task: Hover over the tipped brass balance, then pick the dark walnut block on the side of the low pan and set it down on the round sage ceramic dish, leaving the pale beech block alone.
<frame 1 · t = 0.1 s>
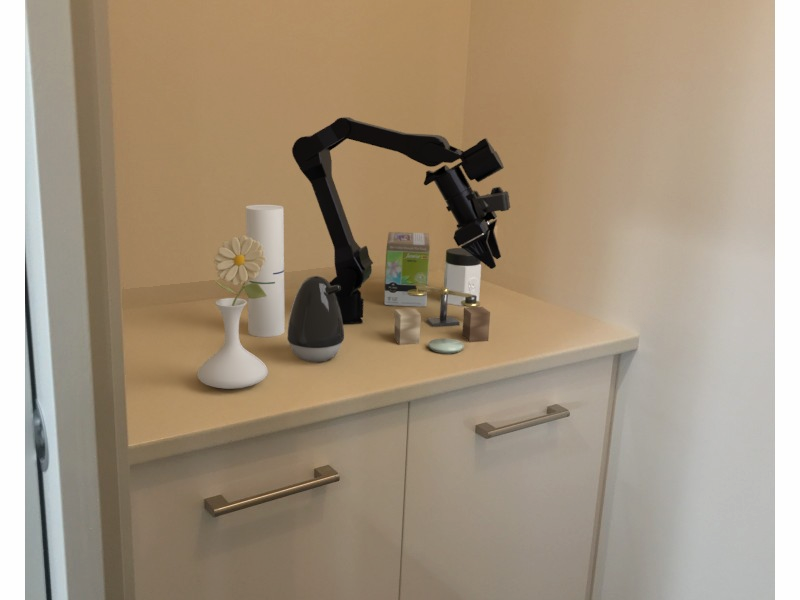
hand: (496, 262, 154), 15 cm above the worktop, tool tilted 30°, fingers open, 9 cm apart
flower in vase: (236, 384, 128), on the worktop
block beech: (406, 341, 152), on the worktop
tea box: (405, 299, 183), on the worktop
jar: (460, 302, 182), on the worktop
balance: (443, 323, 164), on the worktop
pump dispenser: (316, 358, 141), on the worktop
block walnut: (475, 338, 155), on the worktop
cylindrical container: (266, 332, 155), on the worktop
dish: (445, 348, 148), on the worktop
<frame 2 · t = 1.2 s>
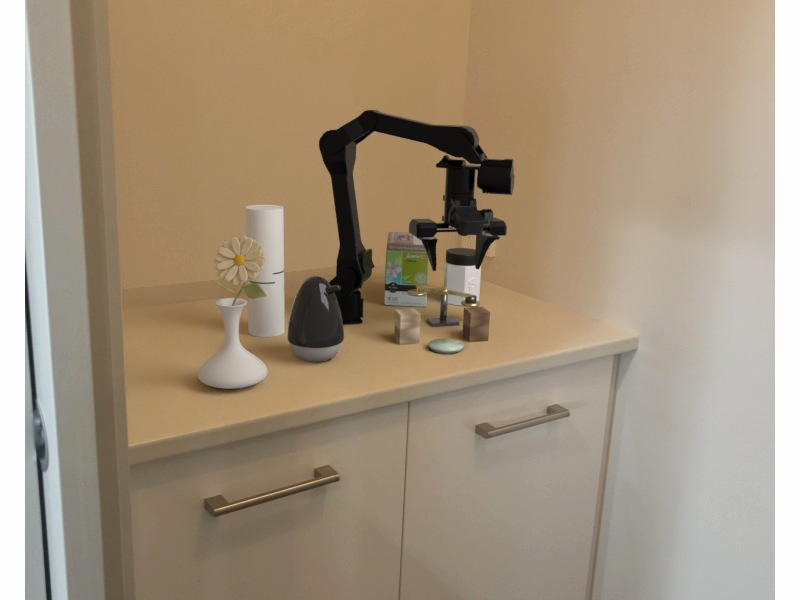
hand: (455, 269, 155), 13 cm above the worktop, tool pointing down, fingers open, 9 cm apart
nothing on the worktop moved.
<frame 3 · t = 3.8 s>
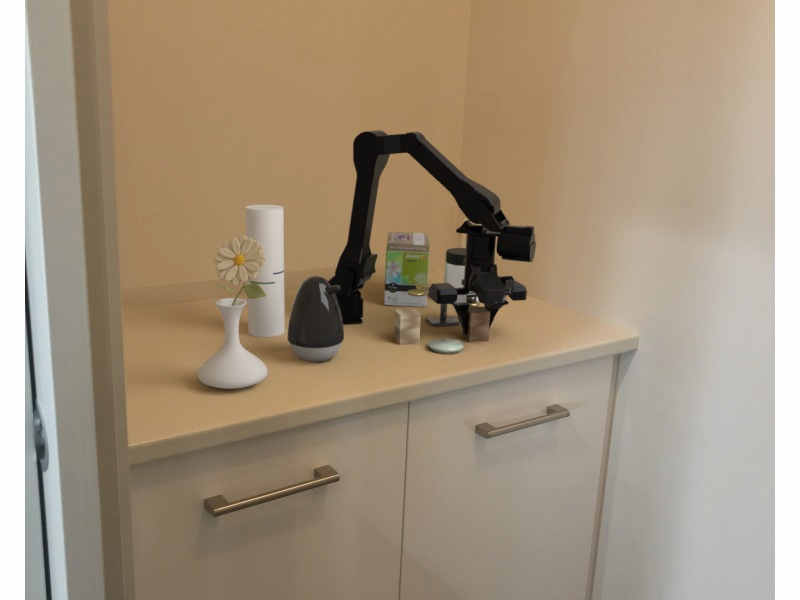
hand: (475, 333, 155), 1 cm above the worktop, tool pointing down, fingers closed on block walnut, 4 cm apart
block walnut: (475, 338, 155), on the worktop, touching gripper
everything else where it was.
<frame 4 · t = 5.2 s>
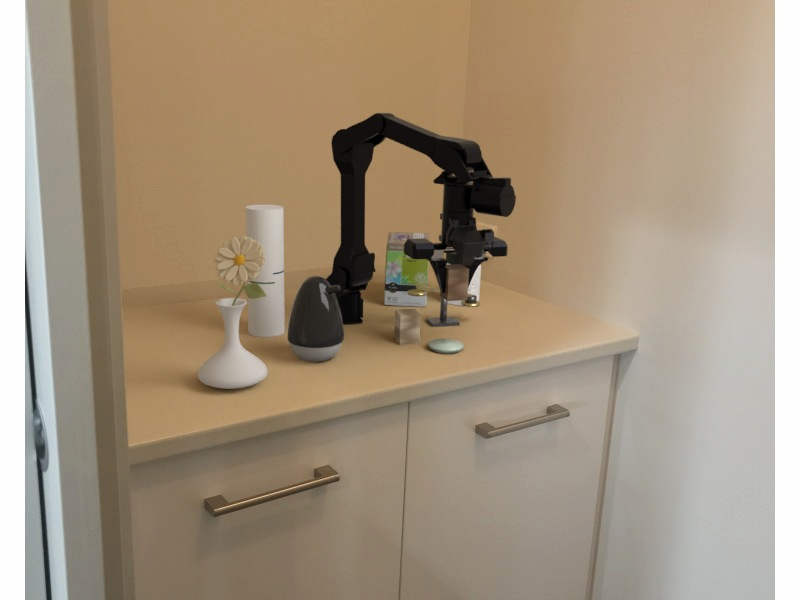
hand: (453, 292, 146), 11 cm above the worktop, tool pointing down, fingers closed on block walnut, 4 cm apart
block walnut: (453, 297, 147), point 10 cm above the worktop, touching gripper
everything else where it was.
when the fingers open (3 cm above the worktop, at t = 7.0 s): block walnut drops 1 cm, resting on dish.
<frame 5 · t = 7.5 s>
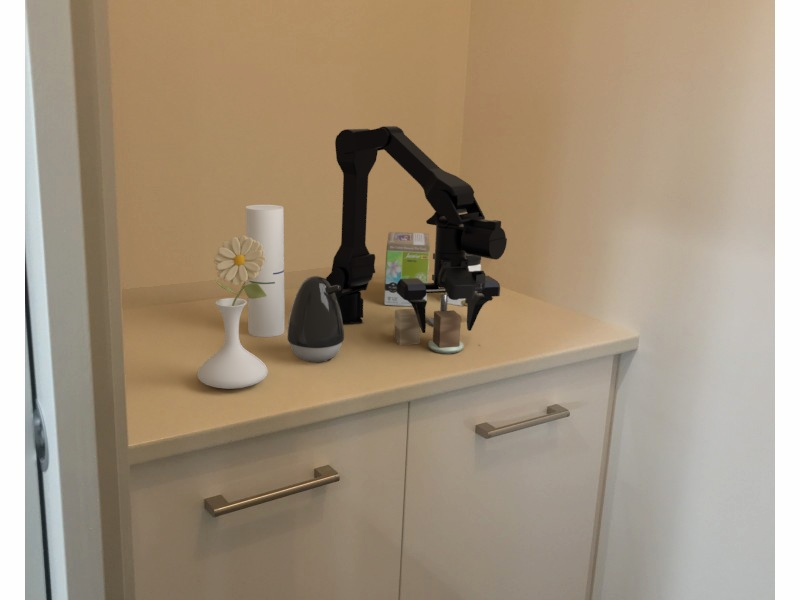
hand: (446, 331, 147), 3 cm above the worktop, tool pointing down, fingers open, 9 cm apart
block walnut: (445, 343, 148), point 1 cm above the worktop, touching dish
everything else where it was.
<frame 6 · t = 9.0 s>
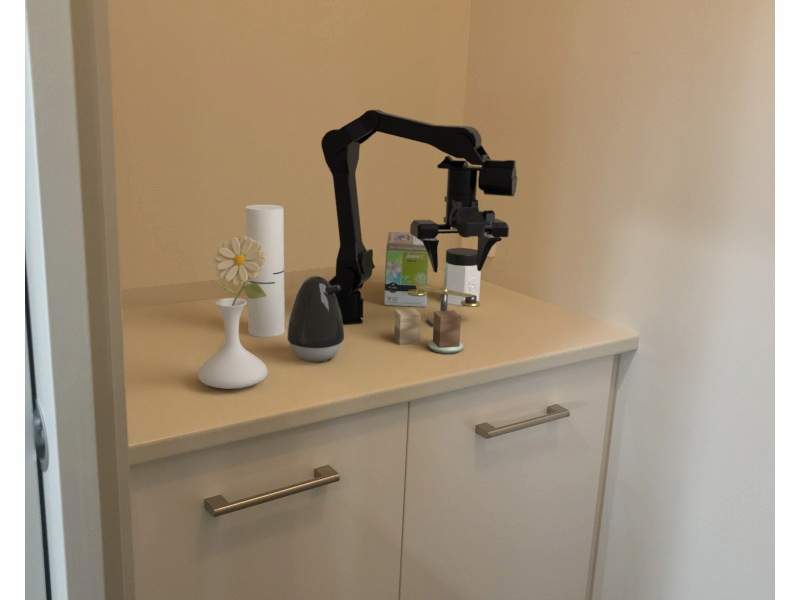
hand: (457, 271, 154), 13 cm above the worktop, tool pointing down, fingers open, 9 cm apart
nothing on the worktop moved.
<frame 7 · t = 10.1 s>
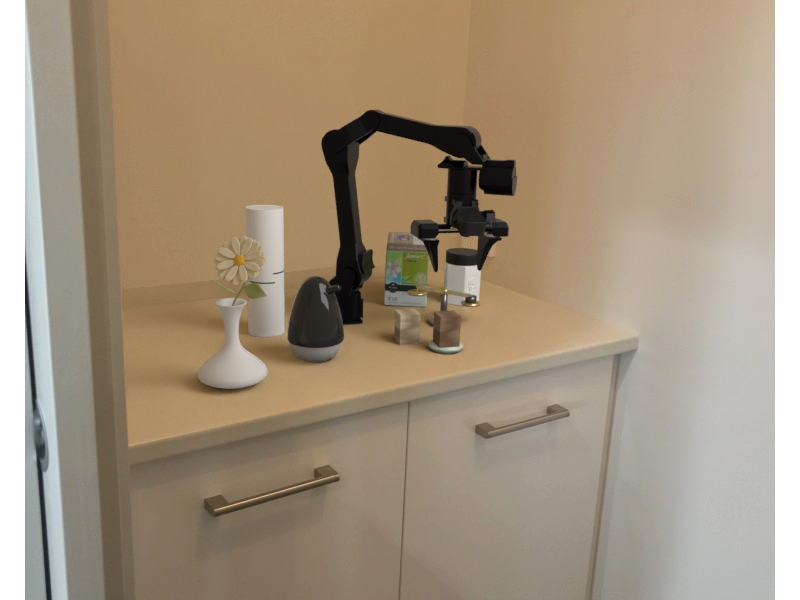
hand: (457, 271, 154), 13 cm above the worktop, tool pointing down, fingers open, 9 cm apart
nothing on the worktop moved.
at the end: block walnut 0.0 cm off-centre on the dish, point 1.0 cm above the dish's base; block walnut tilted 0°; block beech moved 0.1 cm from its start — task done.
